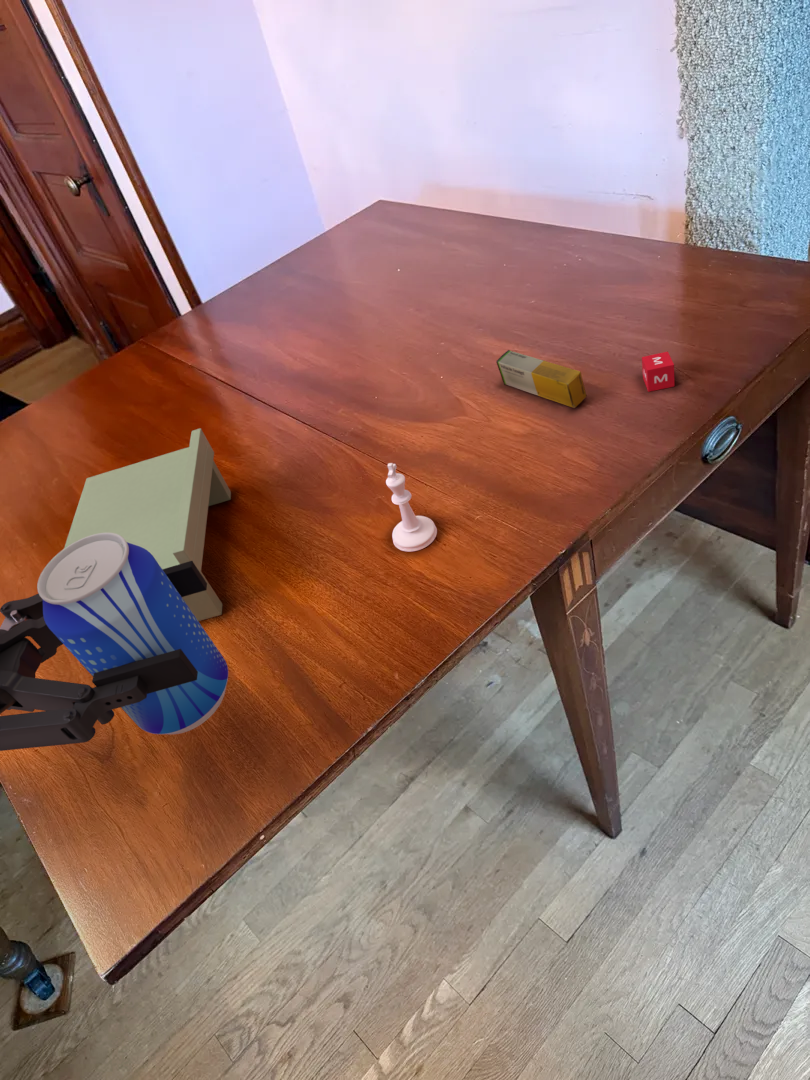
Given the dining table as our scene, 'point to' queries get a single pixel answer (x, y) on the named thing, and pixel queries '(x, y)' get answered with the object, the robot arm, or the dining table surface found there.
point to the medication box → (542, 378)
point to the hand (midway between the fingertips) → (194, 617)
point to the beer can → (131, 626)
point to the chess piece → (408, 517)
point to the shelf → (159, 509)
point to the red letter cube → (658, 371)
